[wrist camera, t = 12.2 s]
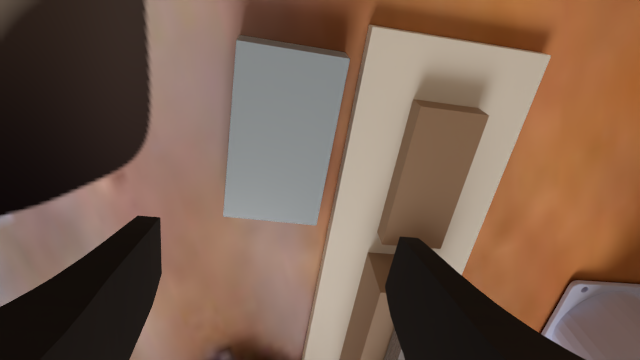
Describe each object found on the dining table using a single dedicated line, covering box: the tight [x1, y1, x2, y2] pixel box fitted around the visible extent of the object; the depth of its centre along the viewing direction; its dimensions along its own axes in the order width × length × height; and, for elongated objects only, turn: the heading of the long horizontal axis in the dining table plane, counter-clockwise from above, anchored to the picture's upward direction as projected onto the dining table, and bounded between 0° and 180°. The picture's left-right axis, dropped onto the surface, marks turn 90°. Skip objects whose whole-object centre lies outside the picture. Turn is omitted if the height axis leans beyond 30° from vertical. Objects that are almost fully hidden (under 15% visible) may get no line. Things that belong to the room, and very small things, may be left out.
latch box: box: [302, 24, 551, 360], centre depth 23 cm, size 9×24×4 cm, turn 171°
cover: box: [223, 35, 350, 225], centre depth 20 cm, size 5×9×2 cm, turn 170°
